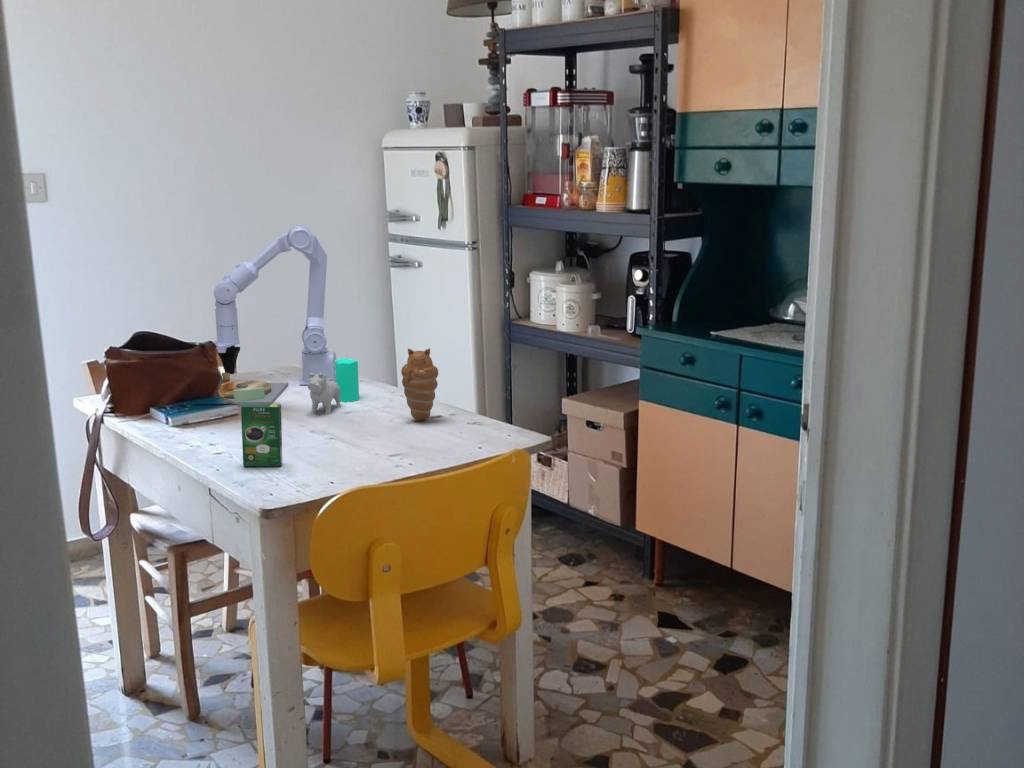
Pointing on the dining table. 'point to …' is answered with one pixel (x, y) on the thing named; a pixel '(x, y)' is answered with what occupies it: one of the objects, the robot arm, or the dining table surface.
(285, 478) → the dining table surface
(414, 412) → the cat ice cream
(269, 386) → the dial
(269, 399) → the grey flat square board
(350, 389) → the candle
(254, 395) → the pale green block
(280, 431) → the coffee box
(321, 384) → the dog figurine
